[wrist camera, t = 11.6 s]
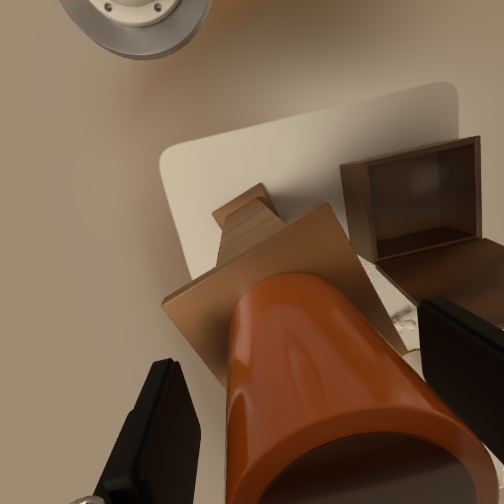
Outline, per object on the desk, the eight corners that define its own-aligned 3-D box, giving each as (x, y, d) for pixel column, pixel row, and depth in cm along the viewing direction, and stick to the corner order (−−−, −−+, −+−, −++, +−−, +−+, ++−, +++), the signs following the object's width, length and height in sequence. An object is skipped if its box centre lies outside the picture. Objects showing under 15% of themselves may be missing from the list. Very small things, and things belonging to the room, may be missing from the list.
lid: (452, 334, 24) (451, 341, 24) (617, 296, 24) (614, 303, 25) (375, 263, 36) (375, 268, 36) (485, 237, 36) (484, 242, 37)
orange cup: (203, 315, 12) (163, 506, 5) (316, 247, 11) (442, 353, 5) (269, 405, 13) (310, 657, 6) (373, 347, 13) (538, 547, 6)
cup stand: (211, 212, 41) (159, 305, 12) (258, 183, 40) (329, 202, 11) (241, 257, 43) (259, 435, 13) (286, 230, 42) (409, 353, 13)
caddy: (339, 164, 40) (361, 162, 34) (438, 142, 41) (480, 135, 34) (351, 250, 44) (373, 264, 37) (442, 229, 44) (482, 239, 37)
